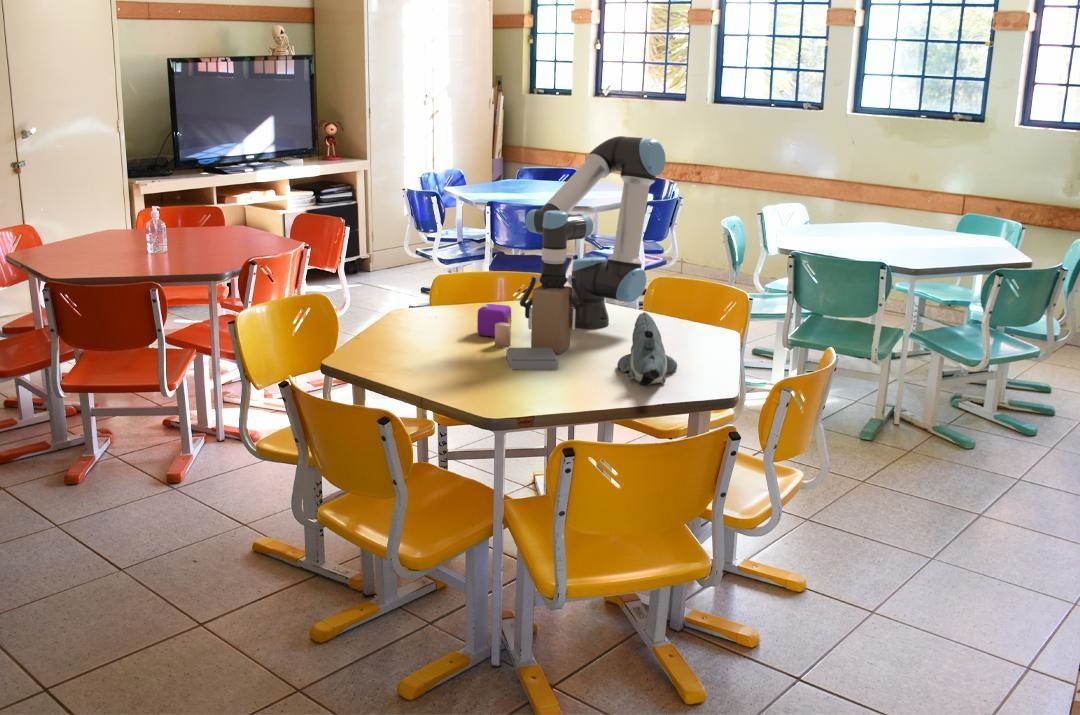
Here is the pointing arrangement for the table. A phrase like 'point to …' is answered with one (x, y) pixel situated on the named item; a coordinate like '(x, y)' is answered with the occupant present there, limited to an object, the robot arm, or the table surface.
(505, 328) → the peach rounded capsule part
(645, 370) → the shark plush
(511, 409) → the table surface
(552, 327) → the wooden block
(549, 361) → the stand
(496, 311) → the toy camera
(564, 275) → the robot arm
